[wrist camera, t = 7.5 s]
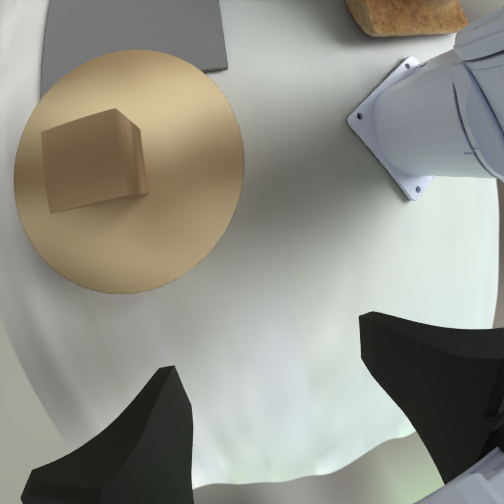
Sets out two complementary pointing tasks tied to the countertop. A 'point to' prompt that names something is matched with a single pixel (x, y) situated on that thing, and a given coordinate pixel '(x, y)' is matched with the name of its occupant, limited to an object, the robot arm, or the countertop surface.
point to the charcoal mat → (131, 33)
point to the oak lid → (128, 171)
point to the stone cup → (407, 17)
